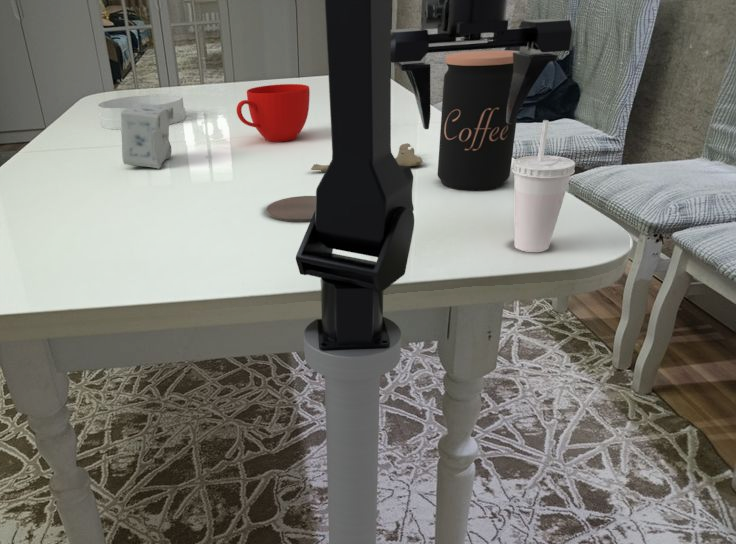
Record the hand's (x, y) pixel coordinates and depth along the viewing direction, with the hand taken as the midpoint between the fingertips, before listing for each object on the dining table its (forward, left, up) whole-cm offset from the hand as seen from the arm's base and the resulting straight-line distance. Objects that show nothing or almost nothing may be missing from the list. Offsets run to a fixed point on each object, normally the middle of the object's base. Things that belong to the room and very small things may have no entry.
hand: (467, 126), depth 71 cm
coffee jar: (+24, -7, -13) cm, 29 cm away
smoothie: (-4, -7, -13) cm, 16 cm away
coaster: (+15, +19, -13) cm, 27 cm away
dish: (+98, +60, -13) cm, 116 cm away
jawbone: (+39, +8, -13) cm, 42 cm away
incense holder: (+49, +48, -13) cm, 70 cm away
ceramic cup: (+64, +25, -13) cm, 70 cm away
